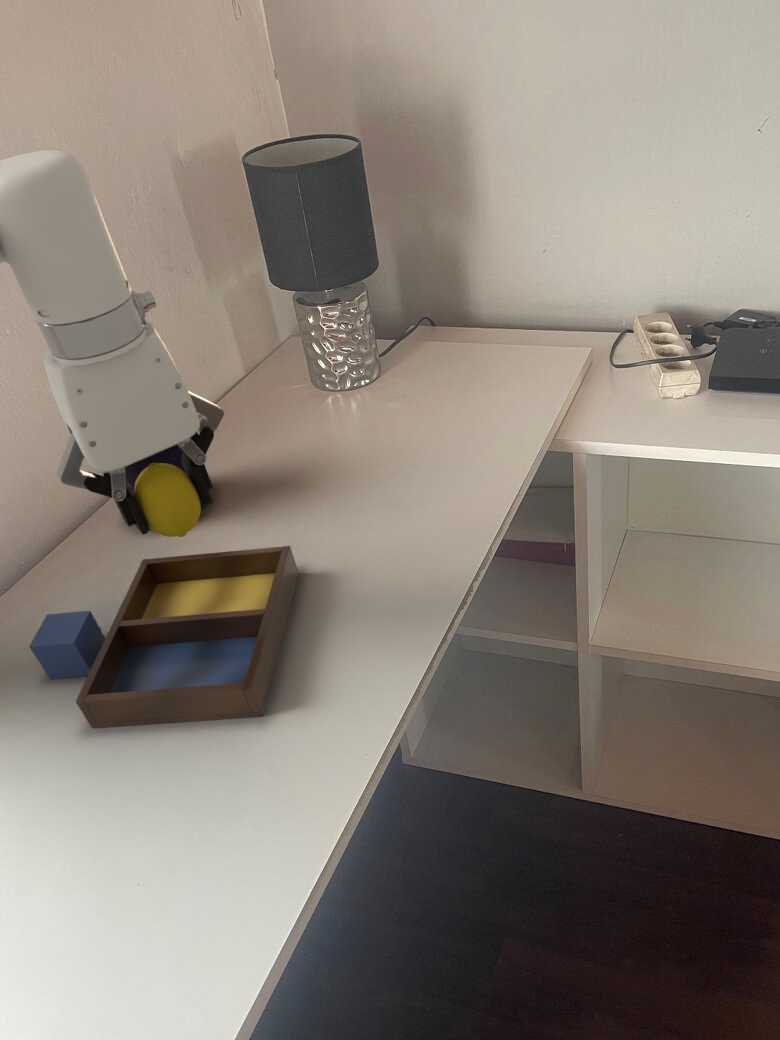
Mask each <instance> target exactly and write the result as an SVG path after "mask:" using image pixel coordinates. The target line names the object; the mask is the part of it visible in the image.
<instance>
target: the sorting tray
mask: <svg viewBox="0 0 780 1040" xmlns="http://www.w3.org/2000/svg"><path fill="white" fill-rule="evenodd" d="M299 573H300V571H299V569H298V566H297V563H296V559H295V557H294V554H293V551H292V547H291V546H290V545H284V546H273V547H262V548H252V549H240V550H233V551H232V550H231V551H229V550H228V551H220V552H208V553H198V554H196V553H195V554H187V555H175V556H166V557H153V558H144V559H141V561H140V563H139V566H138V569H137V570H136V573H135V575H134V577H133V579H132V581H131V583H130V586H129V588H128V589H127V591H126V594H125V596H124V598H123V600H122V602H121V604H120V606H119V608H118V611H117V613H116V615H115V617H114V619H113V621H112V624H111V625H110V627H109V629H108V632H107V634H106V636H105V640H104V643H103V645H102V647H101V649H100V651H99V653H98V655H97V657H96V660H95V662H94V664H93V666H92V668H91V670H90V672H89V674H88V676H86V678H85V681H84V683H83V685H82V686H81V690H80V692H79V693H78V696H77V698H76V700H75V704H76V706H77V707H78V708H79V710H80V711H81V713H82V715H83V716H84V718H85V719H86V722H88V724H89V726H90V728H92V729H102V728H113V727H114V728H115V727H128V726H129V727H130V726H142V725H156V724H157V725H158V724H171V723H184V722H185V723H186V722H187V723H188V722H199V721H215V720H226V719H227V720H228V719H242V718H255V717H257V718H258V717H263V716H264V712H265V709H266V704H267V700H268V697H269V692H270V689H271V685H272V681H273V677H274V671H275V668H276V665H277V661H278V656H279V653H280V649H281V645H282V640H283V638H284V632H285V628H286V625H287V620H288V617H289V612H290V608H291V605H292V600H293V597H294V593H295V589H296V584H297V581H298V576H299Z"/></svg>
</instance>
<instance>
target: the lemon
mask: <svg viewBox="0 0 780 1040" xmlns="http://www.w3.org/2000/svg"><path fill="white" fill-rule="evenodd" d="M134 497H135V499H136V501H137V503H138V505H139V508H140V510H141V512H142V514H143V516H144V518H145V521H146V523H147V525H148V527H149V528H150V529H152V530H151V531H152V532H154V533H156V534H158V535H161V536H164V537H170V538H171V537H173V538H174V537H180V538H183V537H185V536H186V535H187V533H189V532H190V531H191V530H192V529H193V528H195V526H196V525H197V523H198V522H199V519H200V516H201V513H202V512H201V504H200V498H199V494H198V492H197V489H196V487H195V485H194V484H193V482H192V481H191V479H190V478H189V477H188V475H187V474H186V473H185V472H184V471H183V470H181V469H180V468H178V467H176V466H174V465H171V464H166V463H158V464H157V463H151V464H150V465H149V466H148V467H147V468H145V469H144V470H143V471H142V472H141V473H140V475H139V476H138V478H137V480H136V482H135V487H134ZM200 512H201V513H200Z"/></svg>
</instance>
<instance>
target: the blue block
mask: <svg viewBox="0 0 780 1040" xmlns="http://www.w3.org/2000/svg"><path fill="white" fill-rule="evenodd" d="M36 631H37V632H36V633H35V635H34V636H33V638H32V641H31V642H30V644H29V649H30V651H31V652H32V654H33V656H34V657H35V658H36V660H37V661H38V663H39V664H40V666H41V668H42V670H43V671H44V672H45V674H46V675H47V677H48V679H49V680H57V679H59V680H60V679H72V678H83V677H88V674H89V672H90V670H91V668H92V666H93V664H94V662H95V660H96V657H97V655H98V653H99V651H100V649H101V647H102V645H103V643H104V640H105V638H106V636H105V634H104V633H103V631H102V629H101V627H100V625H99V624H98V622H97V620H96V618H95V617H94V615H93V613H92V611H91V610H83V611H71V612H60V613H59V612H58V613H48V614H46V615H45V617H44V618H43V621H42V623H41V624H40V626H39V628H38V630H36Z"/></svg>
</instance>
